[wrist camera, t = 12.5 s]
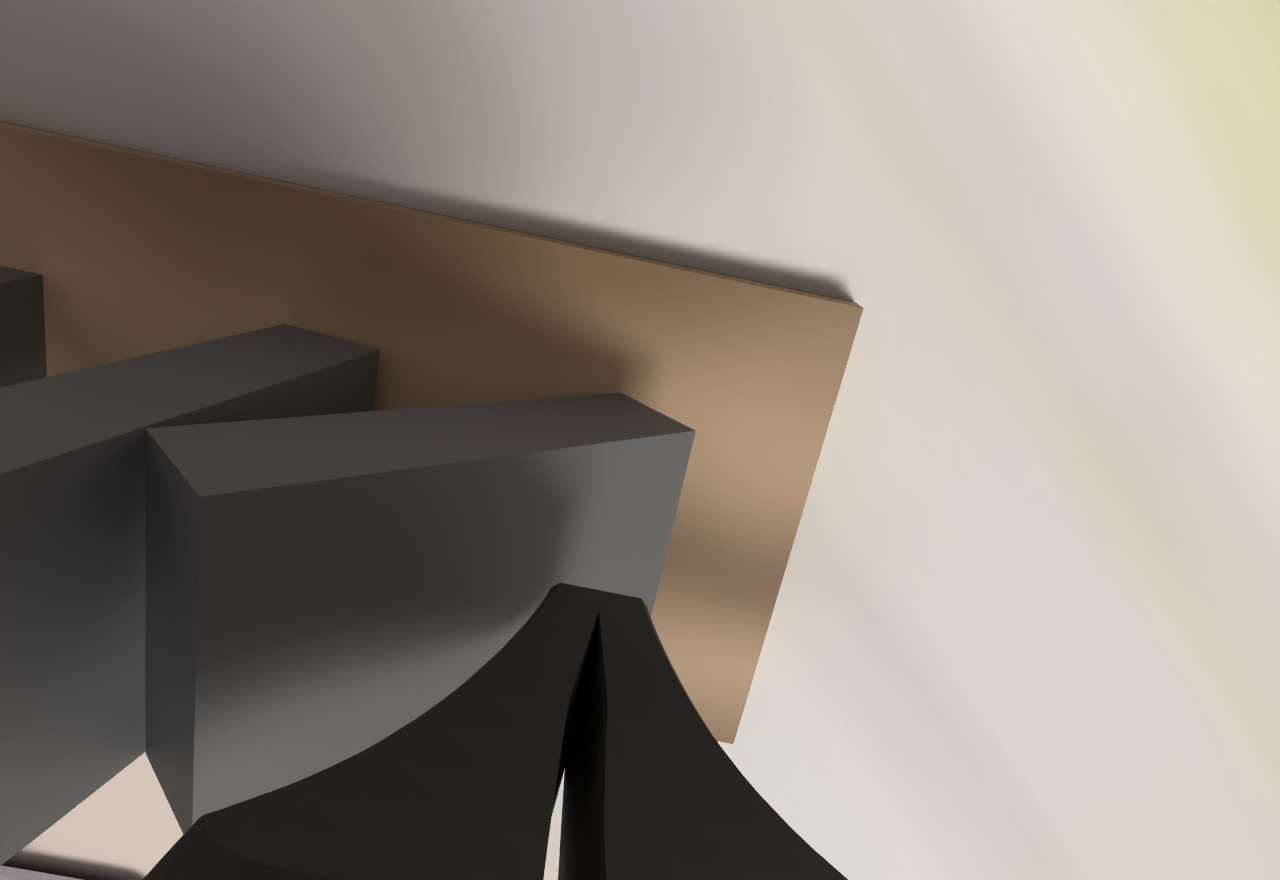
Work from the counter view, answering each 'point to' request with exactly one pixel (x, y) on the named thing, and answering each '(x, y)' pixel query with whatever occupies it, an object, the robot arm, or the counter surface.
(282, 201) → the board
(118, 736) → the domino
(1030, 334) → the counter surface
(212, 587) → the domino
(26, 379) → the domino
